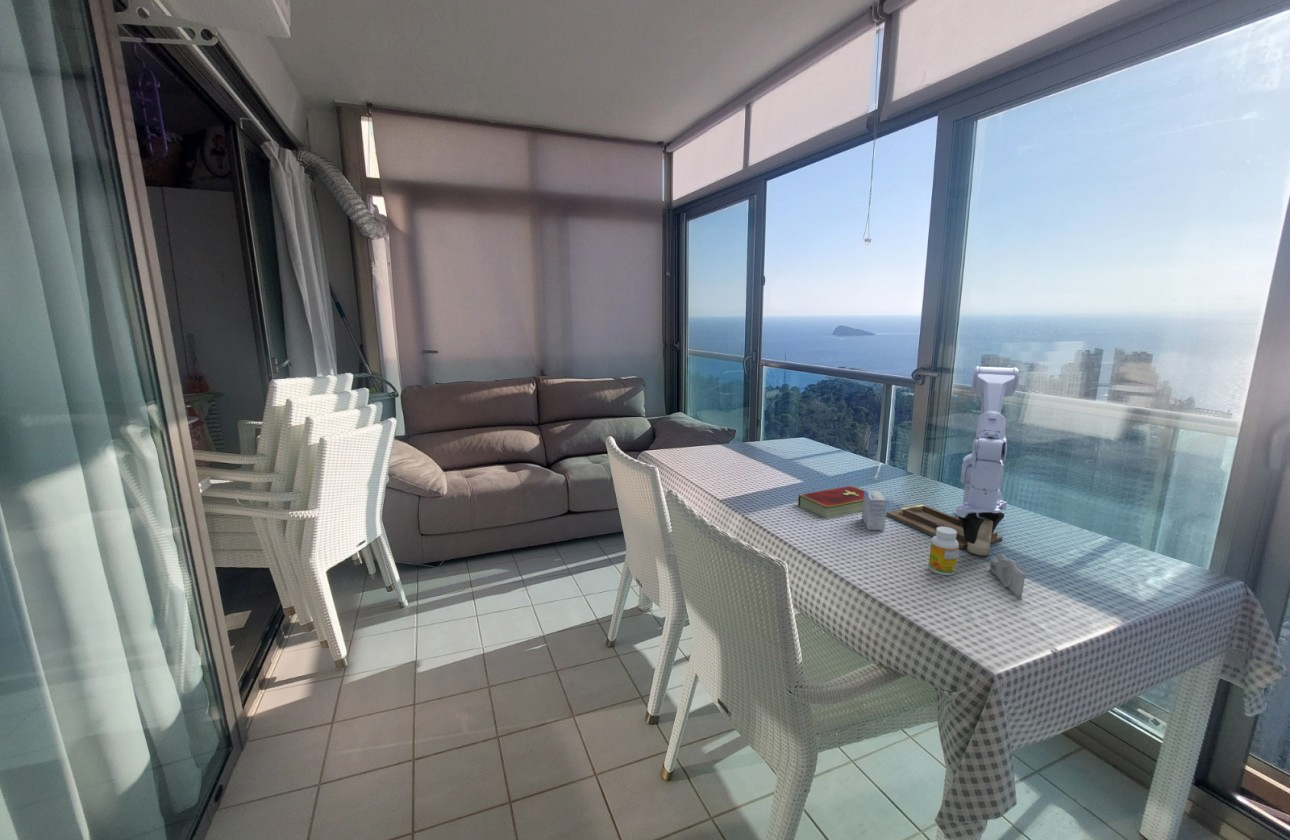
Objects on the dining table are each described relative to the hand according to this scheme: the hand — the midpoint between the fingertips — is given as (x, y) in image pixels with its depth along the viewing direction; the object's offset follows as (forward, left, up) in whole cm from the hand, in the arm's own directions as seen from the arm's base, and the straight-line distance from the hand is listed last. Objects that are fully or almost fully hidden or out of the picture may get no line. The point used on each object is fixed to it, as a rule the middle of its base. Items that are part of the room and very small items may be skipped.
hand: (977, 540), depth 126 cm
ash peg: (0, +1, -3) cm, 3 cm away
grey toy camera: (+8, +13, -3) cm, 16 cm away
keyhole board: (-5, -14, -3) cm, 15 cm away
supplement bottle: (+16, +4, -3) cm, 17 cm away
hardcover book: (+10, -37, -4) cm, 38 cm away
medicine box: (+11, -22, -3) cm, 25 cm away
